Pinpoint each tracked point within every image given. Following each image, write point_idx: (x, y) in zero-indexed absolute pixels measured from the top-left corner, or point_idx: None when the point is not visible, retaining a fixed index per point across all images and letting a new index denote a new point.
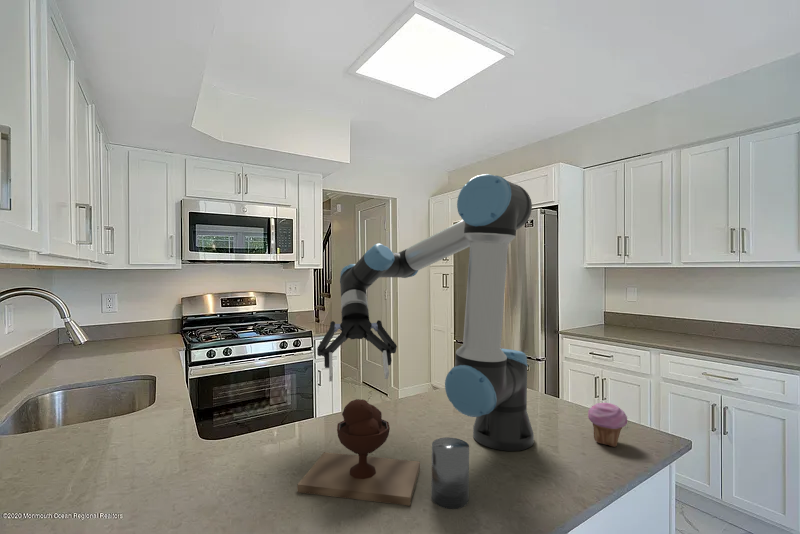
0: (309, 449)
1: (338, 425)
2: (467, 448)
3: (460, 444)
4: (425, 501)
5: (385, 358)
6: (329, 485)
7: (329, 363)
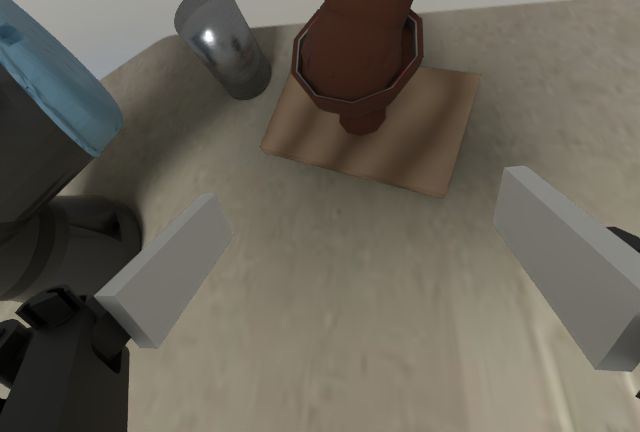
0: (486, 248)
1: (420, 41)
2: (182, 2)
3: (186, 14)
4: (280, 70)
5: (157, 245)
6: (420, 73)
7: (581, 210)
